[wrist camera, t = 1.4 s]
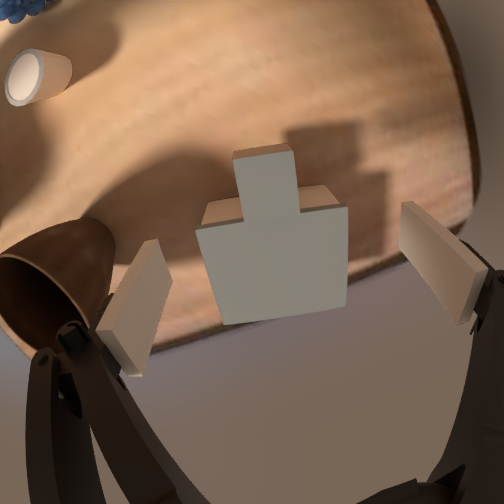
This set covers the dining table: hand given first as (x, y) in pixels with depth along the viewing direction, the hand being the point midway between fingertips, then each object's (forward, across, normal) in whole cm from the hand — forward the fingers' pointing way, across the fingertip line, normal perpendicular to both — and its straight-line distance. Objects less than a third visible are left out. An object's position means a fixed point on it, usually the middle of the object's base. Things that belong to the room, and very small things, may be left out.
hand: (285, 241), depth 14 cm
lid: (+14, 0, -7) cm, 16 cm away
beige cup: (+19, -23, +18) cm, 35 cm away
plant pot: (+19, -25, -6) cm, 32 cm away
